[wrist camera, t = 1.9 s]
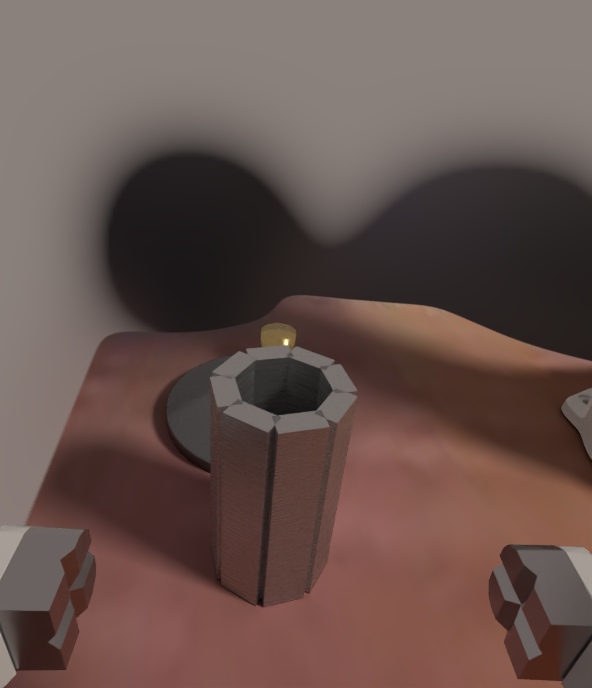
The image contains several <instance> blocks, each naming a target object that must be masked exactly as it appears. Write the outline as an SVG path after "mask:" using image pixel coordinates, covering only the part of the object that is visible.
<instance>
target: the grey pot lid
mask: <svg viewBox="0 0 592 688" xmlns="http://www.w3.org/2000/svg"><path fill="white" fill-rule="evenodd" d="M295 341H296V330H295V329H294V328H293V327H292V326H290V325H287V324H284V323H270V324H267V325H265V326H263V327H262V329H261V342H260V347H272V346H284V345H288V346H289V348H290V350H293V349H294V348H295ZM232 356H233V355H230V356H225V357H221V358H217V359H214V360H211V361H208V362H206V363H204V364H201V365H199V366H197V367H196V368H194V369H192V370H191V371H189V372H188V373H186V374H185V375H184V376H183V377H182V378H181V379H180V380H179V381H178V382H177V383H176V384H175V385H174V387H173V389H172V390H171V392H170V394H169V397H168V400H167V407H166V411H167V425H168V431H169V434H170V437H171V439H172V441H173V443H174V445H175V446H176V448H177V449H178V450H179V451H180V453H181V454H183V455H184V456H185V457H186V458H187V459H188V460H189V461H191V462H192V463H194V464H195V465H196V466H198V467H200V468H202V469H204V470H206V471H207V472H210V473H211V454H210V377H212V372H213V371H214V370H215V369H216V368H218V367H219V366H220V365H222V364H223V363H224V362H225V361H227V360H228V359H229V358H231V357H232Z"/></svg>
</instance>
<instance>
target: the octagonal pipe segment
mask: <svg viewBox="0 0 592 688" xmlns="http://www.w3.org/2000/svg"><path fill="white" fill-rule="evenodd" d="M334 363H335V360H333V359H330V358H328V357H325V356H322V355H319V354H317V353H314V352H311V351H308V350H305V349H303V348H300V347H297V346H296V347H295V348H294V349H293V350H290V348H289V346H288V345H284V346H272V347H260V348H248V349H246V354H245V353H243V352H240V351H238V352H237V353H236V354H235V355H233V356H232V357H231V358H229V359H228V360H227V361H225V362H224V363H223V364H222V365H220V366H219V367H218V368H216V369H215V370H214V371H213V372H212V377H210V454H211V547H212V553H213V559H214V564H215V570H216V576H217V579H221V585H222V586H223V587H225V588H227V589H228V590H230V591H232V592H233V593H235V594H237V595H238V596H240V597H242V598H243V599H245V600H247V601H248V602H250V603H252V604H253V605H255V606H256V604H257V603H258V601H259V600H260V598H261V599H262V603H263V607H266V606H270V605H274V604H279V603H283V602H287V601H292V600H296V599H300V598H303V597H304V591H306V592H308V593H310V591H311V590H312V588H313V586H314V584H315V583H316V581H317V579H318V577H319V575H320V574H321V572H322V570H323V568H324V567H325V565H326V563H327V559H328V554H329V548H330V543H331V537H332V532H333V527H334V521H335V516H336V511H337V505H338V500H339V494H340V489H341V484H342V478H343V473H344V467H345V462H346V457H347V451H348V446H349V441H350V435H351V430H352V424H353V419H354V414H355V408H356V403H357V397H358V396H357V392H358V391H357V389H356V387H355V386H354V384H353V383H352V381H351V380H350V378H349V376H348V375H347V373H346V372H345V370H344V369H343V367H342V365H341V364H337V365H334Z"/></svg>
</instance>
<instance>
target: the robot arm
mask: <svg viewBox="0 0 592 688" xmlns="http://www.w3.org/2000/svg"><path fill="white" fill-rule="evenodd" d="M561 410H562V412H563V414H564V415H565V416H566V417H567V419H568V420H569V421H570V422H571V423H572V424H573V425H574V426H575V427H576V428H577V429H578V431H579V433H580V435H581V437H582V440H583V443H584V446H585V448H586V450H587V453H588V454H589V456H590V458H591V459H592V388H590V389H587V390H585V391H582V392H580V393H577V394H575V395H572V396H570V397H568V398H567V399H566V400H565V402H564V403H563V405H562V407H561ZM90 544H91V537H90V533H89V530H85V529H68V528H51V527H34V526H13V525H3V526H2V527H1V528H0V688H4V687H5V686H6V684H7V683H8V682H9V681H10V680H11V679H12V678H13V677H14V676H15V675H16V671H20V670H66V669H67V666H68V663H69V660H70V657H71V654H72V651H73V648H74V646H75V643H76V640H77V637H78V634H79V629H78V624H77V620H76V618H77V617H78V616H79V615H80V614H81V613H82V612H84V611H85V610H86V609H87V608H88V605H89V602H90V599H91V596H92V593H93V587H94V582H95V577H96V563H95V557H94V555H92V554H91V553H90V552H89V551H88V549H89V546H90ZM500 558H501V560H502V562H503V564H501V565H500V566H498V567H497V568H495V569H494V570H493V571H492V574H491V576H490V579H489V599H490V604H491V608H492V611H493V614H494V616H495V619H496V620H497V621H498V622H499V623H500V624H501V625H502V626H503V627H504V628H505V629H506V630H507V634H506V637H505V640H504V644H505V646H506V649H507V652H508V654H509V657H510V660H511V662H512V665H513V668H514V670H515V673H516V676H517V678H518V679H530V680H550V681H562V683H561V684H562V685H563V686H564V688H592V555H591V554H590V552H589V551H587V550H586V549H585V548H584V547H569V546H555V545H514V544H509V545H507V546H505V547H504V548H503V550H502V552H501V554H500Z"/></svg>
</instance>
